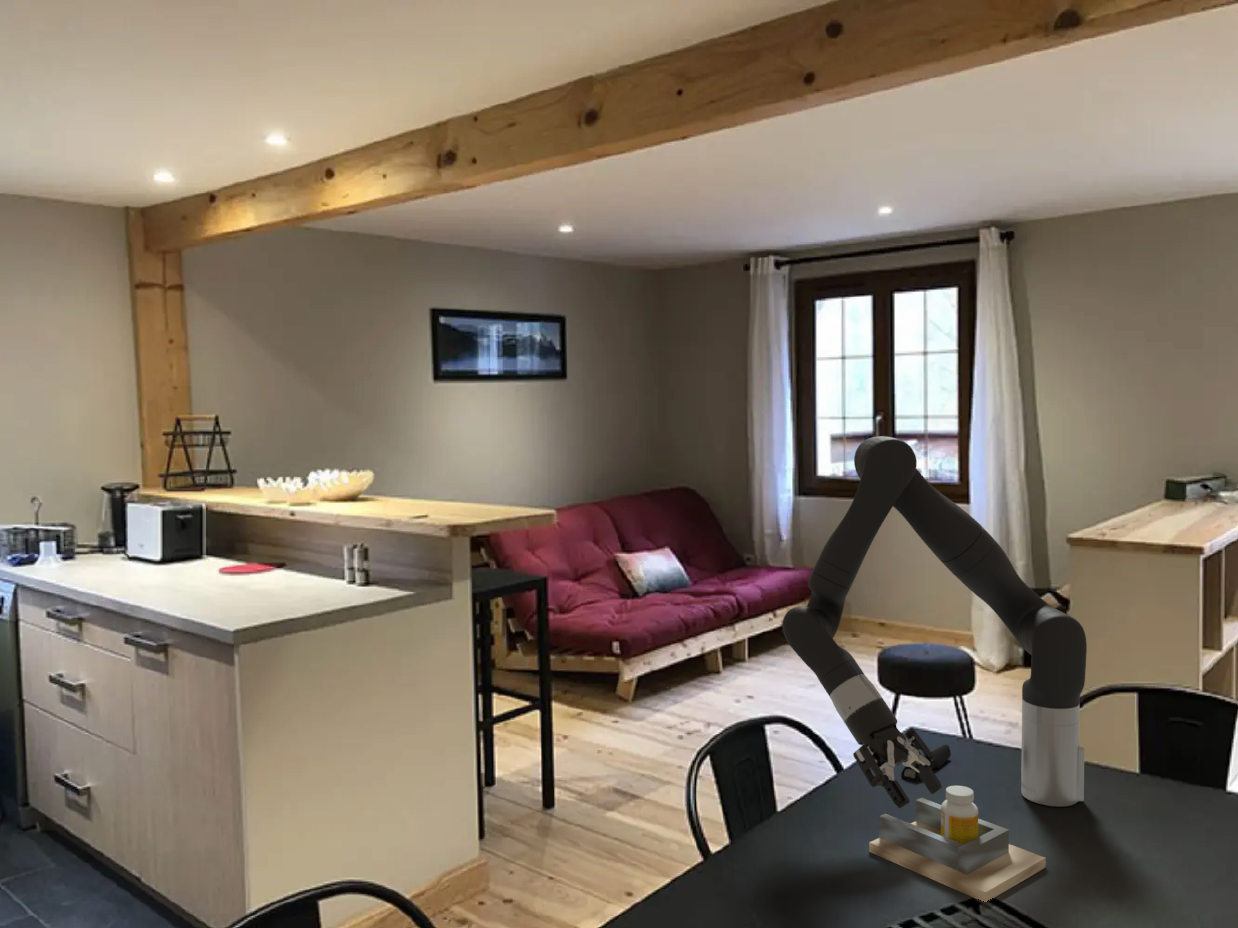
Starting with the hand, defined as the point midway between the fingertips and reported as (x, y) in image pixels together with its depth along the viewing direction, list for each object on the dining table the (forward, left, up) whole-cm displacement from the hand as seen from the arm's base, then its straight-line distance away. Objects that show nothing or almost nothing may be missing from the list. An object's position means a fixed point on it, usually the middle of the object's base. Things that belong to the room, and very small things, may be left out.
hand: (921, 798), depth 154 cm
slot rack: (-3, +5, -8) cm, 10 cm away
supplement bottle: (-3, +6, -6) cm, 9 cm away
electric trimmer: (-15, -30, -8) cm, 34 cm away
